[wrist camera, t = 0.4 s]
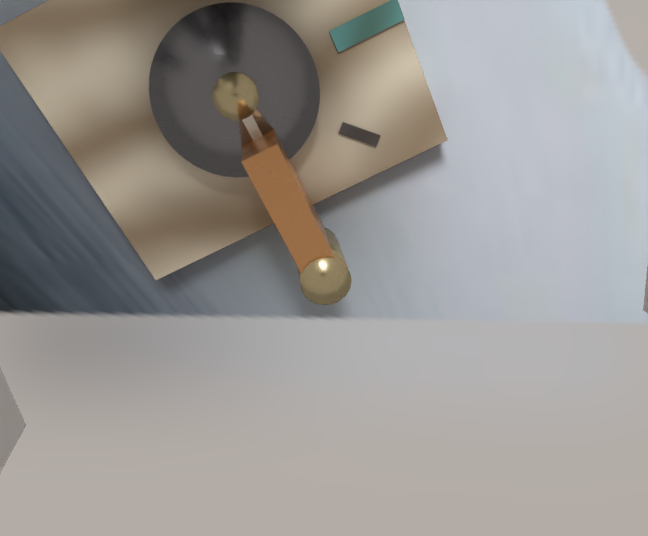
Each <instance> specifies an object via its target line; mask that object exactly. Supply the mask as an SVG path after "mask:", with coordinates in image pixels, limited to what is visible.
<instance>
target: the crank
mask: <svg viewBox="0 0 648 536" xmlns="http://www.w3.org/2000/svg"><path fill="white" fill-rule="evenodd" d="M149 98H150V104H151V108H152V112H153V115H154V118H155V120H156V123H157V125H158V127H159V129H160V131H161V133H162V134H163V136H164V137H165V139H166V140H167V142H168V143H169V144H170V145H171V146H172V147H173V149H174V150H175V151H176V152H177V153H178V154H180V155H181V156H182V157H183V158H184V159H185V160H187V161H188V162H190V163H191V164H193V165H194V166H196V167H198V168H200V169H202V170H204V171H207V172H210V173H212V174H216V175H220V176H225V177H250V179H251V181H252V183H253V185H254V186H255V188H256V190H257V192H258V194H259V196H260V198H261V199H262V201H263V203H264V205H265V207H266V209H267V211H268V212H269V214H270V216H271V218H272V220H273V222H274V223H275V225H276V227H277V229H278V231H279V233H280V235H281V236H282V238H283V240H284V242H285V244H286V246H287V248H288V249H289V251H290V253H291V255H292V257H293V259H294V261H295V262H296V264H297V268H298V273H299V278H300V283H301V288H302V291H303V293H304V295H305V296H306V297H307V298H308V299H309V300H310V301H312V302H314V303H317V304H321V305H328V304H333V303H335V302H338V301H339V300H341V299H342V298H343V297H344V296H345V295H346V294H347V293H348V291H349V289H350V286H351V275H350V272H349V270H348V267H347V264H346V262H345V259H344V256H343V254H342V251H341V248H340V246H339V243H338V240H337V238H336V236H335V235H334V234H333V233H332V232H331V231H330V230H329V229H327V228H324V226H323V224H322V222H321V220H320V218H319V216H318V214H317V212H316V210H315V208H314V206H313V204H312V202H311V200H310V198H309V196H308V194H307V192H306V190H305V188H304V186H303V184H302V182H301V180H300V178H299V176H298V174H297V172H296V170H295V168H294V166H293V164H292V162H291V160H290V159H291V158H292V157H293V156H294V155H295V154H296V153H297V152H298V151H299V150H300V149H301V147H302V146H303V145H304V143H305V142H306V140H307V139H308V137H309V135H310V134H311V132H312V129H313V127H314V125H315V122H316V118H317V115H318V110H319V103H320V86H319V78H318V73H317V69H316V66H315V63H314V61H313V58H312V56H311V54H310V52H309V50H308V48H307V46H306V45H305V43H304V42H303V40H302V39H301V38H300V36H299V35H298V34H297V33H296V32H295V31H294V30H293V29H292V28H291V27H290V26H289V25H288V24H287V23H286V22H284V21H283V20H282V19H280V18H279V17H277V16H276V15H274V14H273V13H271V12H269V11H267V10H264V9H262V8H260V7H257V6H253V5H250V4H244V3H236V2H226V3H217V4H213V5H209V6H205V7H202V8H200V9H198V10H195V11H193V12H191V13H190V14H188V15H186V16H185V17H183V18H182V19H181V20H179V21H178V22H177V23H176V24H175V25H174V26H173V27H172V28H171V29H170V30H169V31H168V32H167V33H166V35H165V36H164V38H163V39H162V41H161V42H160V44H159V46H158V48H157V50H156V52H155V55H154V58H153V61H152V64H151V69H150V75H149Z"/></svg>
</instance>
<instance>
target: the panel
mask: <svg viewBox="0 0 648 536" xmlns="http://www.w3.org/2000/svg"><path fill="white" fill-rule="evenodd" d="M226 2H236V3H244V4H250V5H253V6H257V7H260V8H262V9H264V10H267V11H269V12H271V13H273V14H274V15H276V16H277V17H279V18H280V19H282V20H283V21H284V22H286V23H287V24H288V25H289V26H290V27H291V28H292V29H293V30H294V31H295V32H296V33H297V34H298V35H299V36H300V38H301V39H302V40H303V42H304V43H305V45H306V46H307V48H308V50H309V52H310V54H311V56H312V58H313V61H314V63H315V66H316V69H317V73H318V78H319V86H320V103H319V110H318V115H317V118H316V122H315V125H314V127H313V129H312V132H311V134H310V135H309V137H308V139H307V140H306V142H305V143H304V145H303V146H302V147H301V149H300V150H299V151H298V152H297V153H296V154H295V155H294V156H293V157H292V158H291V159H290V160H291V162H292V164H293V166H294V168H295V170H296V172H297V174H298V176H299V178H300V180H301V182H302V184H303V186H304V188H305V190H306V192H307V194H308V196H309V198H310V200H311V202H312V204H316V203H318V202H320V201H322V200H324V199H326V198H328V197H330V196H332V195H334V194H336V193H338V192H341V191H343V190H345V189H347V188H349V187H351V186H353V185H355V184H357V183H359V182H361V181H363V180H365V179H368V178H370V177H372V176H374V175H376V174H378V173H380V172H382V171H384V170H386V169H388V168H390V167H392V166H395V165H397V164H399V163H401V162H403V161H405V160H407V159H409V158H411V157H413V156H415V155H417V154H419V153H422V152H424V151H426V150H428V149H430V148H432V147H434V146H436V145H438V144H440V143H442V142H444V141H447V137H446V135H445V132H444V129H443V126H442V124H441V121H440V118H439V115H438V113H437V110H436V107H435V104H434V102H433V99H432V96H431V93H430V90H429V88H428V85H427V82H426V79H425V77H424V74H423V71H422V68H421V66H420V63H419V60H418V57H417V55H416V52H415V49H414V46H413V43H412V41H411V38H410V35H409V32H408V30H407V27H406V24H405V21H404V17H403V14H402V11H401V8H400V6H399V3H398V0H48V1H46V2H45V3H43V4H41V5H39V6H37V7H35V8H33V9H31V10H30V11H28V12H26V13H24V14H22V15H20V16H18V17H16V18H14V19H13V20H11V21H9V22H7V23H5V24H3V25H1V26H0V51H1V52H2V54H3V55H4V57H5V58H6V60H7V61H8V63H9V64H10V66H11V67H12V69H13V70H14V72H15V73H16V75H17V76H18V78H19V79H20V81H21V82H22V83H23V85H24V86H25V88H26V89H27V91H28V92H29V94H30V95H31V97H32V98H33V100H34V101H35V103H36V104H37V106H38V107H39V109H40V110H41V112H42V113H43V114H44V116H45V117H46V119H47V120H48V122H49V123H50V125H51V126H52V128H53V129H54V131H55V132H56V134H57V135H58V137H59V138H60V140H61V141H62V143H63V144H64V145H65V147H66V148H67V150H68V151H69V153H70V154H71V156H72V157H73V159H74V160H75V162H76V163H77V165H78V166H79V168H80V169H81V171H82V172H83V174H84V175H85V176H86V178H87V179H88V181H89V182H90V184H91V185H92V187H93V188H94V190H95V191H96V193H97V194H98V196H99V197H100V199H101V200H102V202H103V203H104V205H105V206H106V207H107V209H108V210H109V212H110V213H111V215H112V216H113V218H114V219H115V221H116V222H117V224H118V225H119V227H120V228H121V230H122V231H123V233H124V234H125V236H126V237H127V238H128V240H129V241H130V243H131V244H132V246H133V247H134V249H135V250H136V252H137V253H138V255H139V256H140V258H141V259H142V261H143V262H144V264H145V265H146V267H147V268H148V270H149V271H150V272H151V274H152V275H153V277H154V278H155V280H158V279H160V278H162V277H164V276H166V275H168V274H170V273H172V272H174V271H176V270H178V269H180V268H183V267H185V266H187V265H189V264H191V263H193V262H195V261H197V260H199V259H201V258H203V257H205V256H207V255H210V254H212V253H214V252H216V251H218V250H220V249H222V248H224V247H226V246H228V245H230V244H232V243H234V242H237V241H239V240H241V239H243V238H245V237H247V236H249V235H251V234H253V233H255V232H257V231H259V230H262V229H264V228H266V227H268V226H270V225H272V224H274V222H273V220H272V218H271V216H270V214H269V212H268V211H267V209H266V207H265V205H264V203H263V201H262V199H261V198H260V196H259V194H258V192H257V190H256V188H255V186H254V185H253V183H252V181H251V179H250V177H225V176H220V175H216V174H212V173H210V172H207V171H204V170H202V169H200V168H198V167H196V166H194V165H193V164H191V163H190V162H188V161H187V160H185V159H184V158H183V157H182V156H181V155H180V154H178V153H177V152H176V151H175V150H174V149H173V147H172V146H171V145H170V144H169V143H168V142H167V140H166V139H165V137H164V136H163V134H162V133H161V131H160V129H159V127H158V125H157V123H156V120H155V118H154V115H153V112H152V108H151V104H150V98H149V75H150V69H151V64H152V61H153V58H154V55H155V52H156V50H157V48H158V46H159V44H160V42H161V41H162V39H163V38H164V36H165V35H166V33H167V32H168V31H169V30H170V29H171V28H172V27H173V26H174V25H175V24H176V23H177V22H178V21H179V20H181V19H182V18H183V17H185V16H186V15H188V14H190V13H191V12H193V11H195V10H198V9H200V8H202V7H205V6H209V5H213V4H217V3H226Z"/></svg>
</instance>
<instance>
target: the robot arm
mask: <svg viewBox="0 0 648 536" xmlns="http://www.w3.org/2000/svg"><path fill="white" fill-rule="evenodd" d="M643 310H644V311H645V312H647V313H648V268H647V278H646V288H645V298H644V308H643ZM25 426H26V424H25V422H24V420H23V417H22V415H21V413H20V411H19V409H18V406H17V405H16V402H15V400H14V398H13V395H12V393H11V391H10V388H9V386H8V384H7V382H6V380H5V377H4V375H3V373H2V371H1V369H0V473H1V471H2V469H3V467H4V465H5V463H6V461H7V460H8V458H9V456H10V454H11V452H12V450H13V448H14V447H15V445H16V443H17V441H18V439H19V437H20V435H21V434H22V432H23V430H24V428H25Z"/></svg>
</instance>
